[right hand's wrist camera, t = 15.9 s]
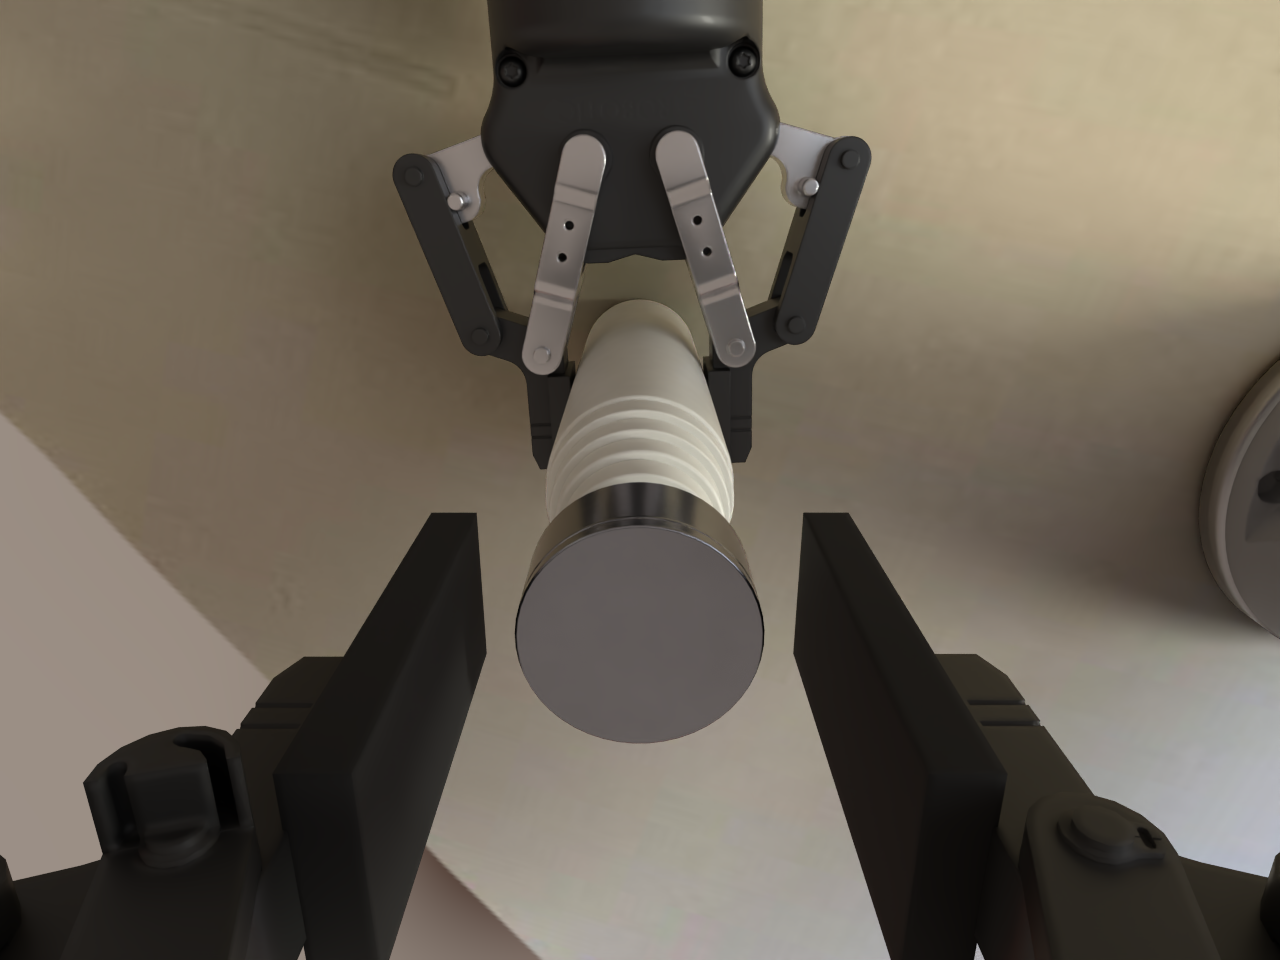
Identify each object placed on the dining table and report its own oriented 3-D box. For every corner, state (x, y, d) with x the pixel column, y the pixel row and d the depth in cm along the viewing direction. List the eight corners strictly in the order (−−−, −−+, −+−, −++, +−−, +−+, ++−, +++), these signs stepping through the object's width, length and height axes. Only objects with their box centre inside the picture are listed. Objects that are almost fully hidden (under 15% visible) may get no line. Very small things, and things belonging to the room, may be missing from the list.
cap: (484, 575, 15) (462, 631, 13) (648, 435, 14) (649, 474, 12) (631, 714, 16) (630, 784, 14) (794, 590, 15) (815, 648, 13)
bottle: (674, 283, 32) (729, 460, 12) (708, 387, 33) (805, 694, 14) (569, 320, 32) (462, 546, 13) (607, 421, 34) (561, 764, 14)
